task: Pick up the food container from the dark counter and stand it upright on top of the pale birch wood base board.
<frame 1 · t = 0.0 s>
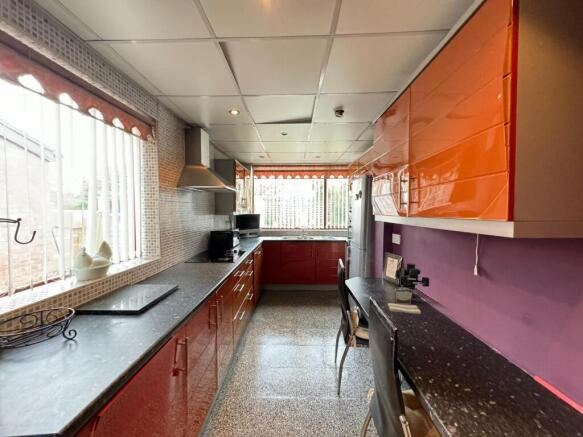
hand: (417, 284, 174), 17 cm above the worktop, tool horizontal, fingers open, 9 cm apart
base board: (403, 309, 174), on the worktop
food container: (402, 302, 187), on the worktop
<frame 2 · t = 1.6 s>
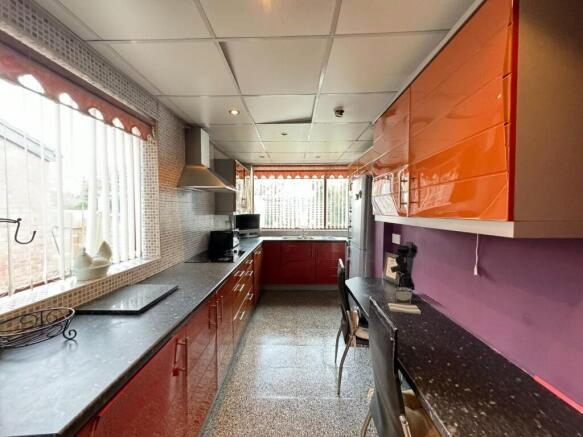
hand: (402, 284, 187), 13 cm above the worktop, tool pointing down, fingers open, 9 cm apart
nothing on the worktop moved.
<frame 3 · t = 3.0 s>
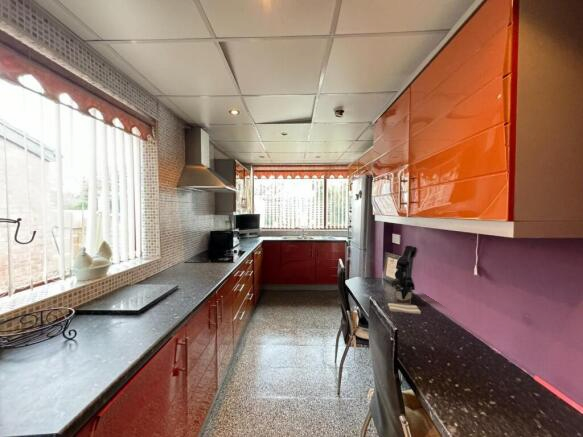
hand: (402, 298, 187), 3 cm above the worktop, tool pointing down, fingers closed on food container, 6 cm apart
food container: (402, 302, 187), on the worktop, touching gripper
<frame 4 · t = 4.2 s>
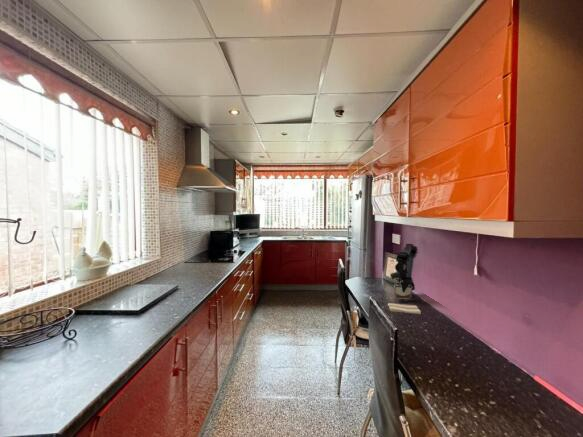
hand: (402, 290, 187), 8 cm above the worktop, tool pointing down, fingers closed on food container, 6 cm apart
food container: (402, 296, 188), point 3 cm above the worktop, touching gripper
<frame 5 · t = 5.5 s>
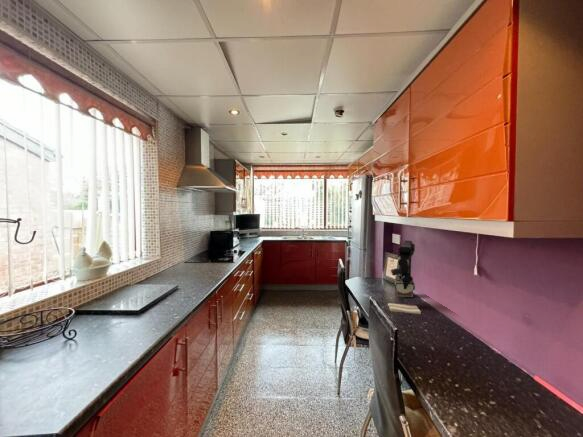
hand: (403, 288, 176), 14 cm above the worktop, tool pointing down, fingers closed on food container, 6 cm apart
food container: (403, 294, 177), point 9 cm above the worktop, touching gripper
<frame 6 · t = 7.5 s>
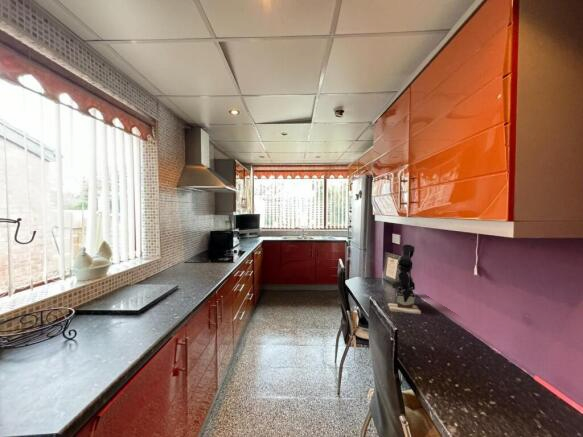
hand: (404, 300, 174), 6 cm above the worktop, tool pointing down, fingers closed on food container, 6 cm apart
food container: (404, 306, 175), point 2 cm above the worktop, touching base board, gripper
when the fingers open (6 cm above the worktop, at t = 7.9 s): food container stays where it is, resting on base board.
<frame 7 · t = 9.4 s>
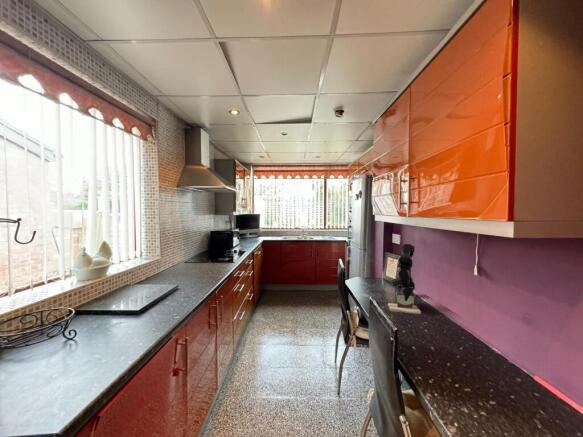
hand: (404, 298, 174), 7 cm above the worktop, tool pointing down, fingers open, 9 cm apart
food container: (404, 306, 175), point 1 cm above the worktop, touching base board
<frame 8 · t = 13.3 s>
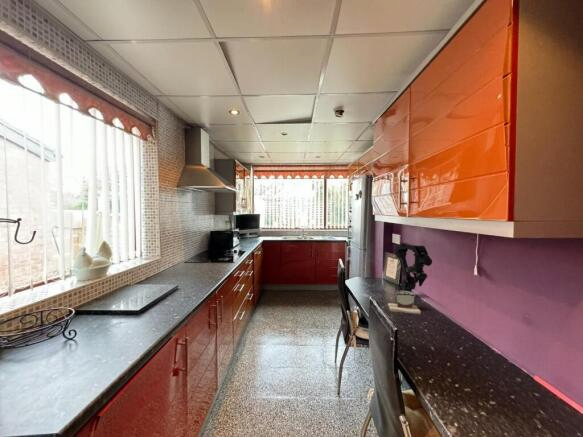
hand: (418, 284, 187), 13 cm above the worktop, tool pointing down, fingers open, 9 cm apart
nothing on the worktop moved.
at the end: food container inside the target area on the base board (1.8 cm from its centre), point 1.0 cm above the base board's base; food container tilted 0°; the gripper is holding nothing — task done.
